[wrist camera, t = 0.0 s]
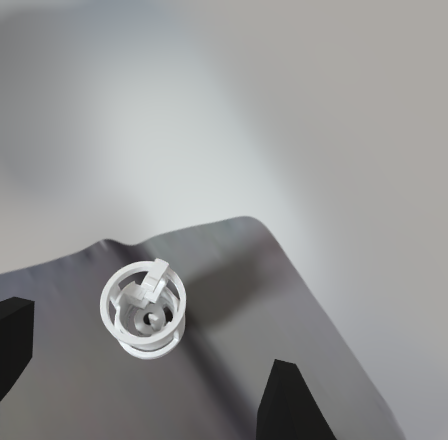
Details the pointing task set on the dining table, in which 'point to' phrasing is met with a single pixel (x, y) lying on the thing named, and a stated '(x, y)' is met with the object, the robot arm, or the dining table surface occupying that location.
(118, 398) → the dining table surface
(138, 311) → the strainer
